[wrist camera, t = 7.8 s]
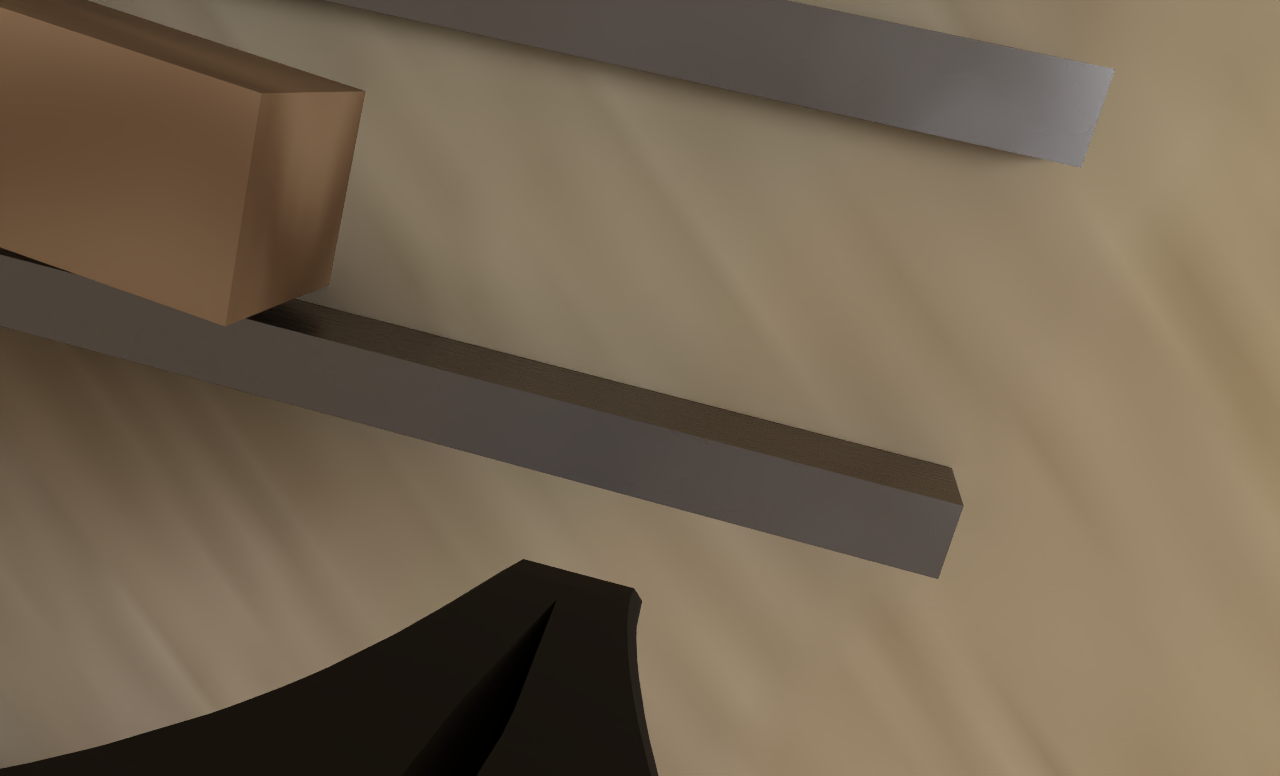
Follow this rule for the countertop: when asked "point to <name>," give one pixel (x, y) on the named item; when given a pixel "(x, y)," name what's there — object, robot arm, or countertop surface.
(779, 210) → the countertop surface
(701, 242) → the countertop surface
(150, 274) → the long wooden beam
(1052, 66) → the slot rails
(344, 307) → the countertop surface
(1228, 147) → the countertop surface
